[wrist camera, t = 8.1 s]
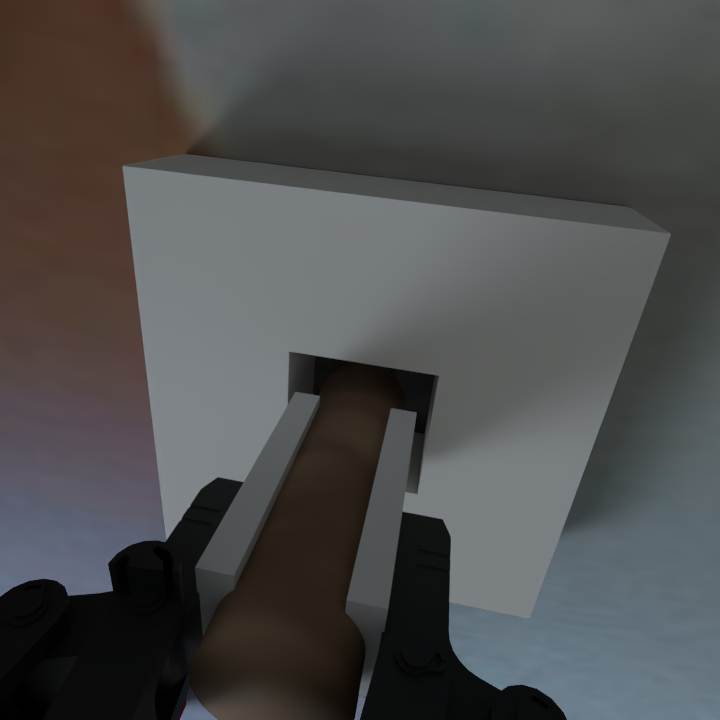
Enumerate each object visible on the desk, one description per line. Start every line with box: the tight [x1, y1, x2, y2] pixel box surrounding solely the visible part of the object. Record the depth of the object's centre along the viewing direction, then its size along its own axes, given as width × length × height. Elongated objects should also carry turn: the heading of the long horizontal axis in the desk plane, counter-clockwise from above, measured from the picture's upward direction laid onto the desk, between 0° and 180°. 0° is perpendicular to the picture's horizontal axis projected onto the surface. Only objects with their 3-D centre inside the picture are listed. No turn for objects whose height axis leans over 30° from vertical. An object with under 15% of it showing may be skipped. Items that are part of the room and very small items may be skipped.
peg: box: [188, 362, 407, 720], centre depth 13 cm, size 3×3×10 cm
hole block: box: [122, 154, 671, 619], centre depth 18 cm, size 14×14×4 cm
